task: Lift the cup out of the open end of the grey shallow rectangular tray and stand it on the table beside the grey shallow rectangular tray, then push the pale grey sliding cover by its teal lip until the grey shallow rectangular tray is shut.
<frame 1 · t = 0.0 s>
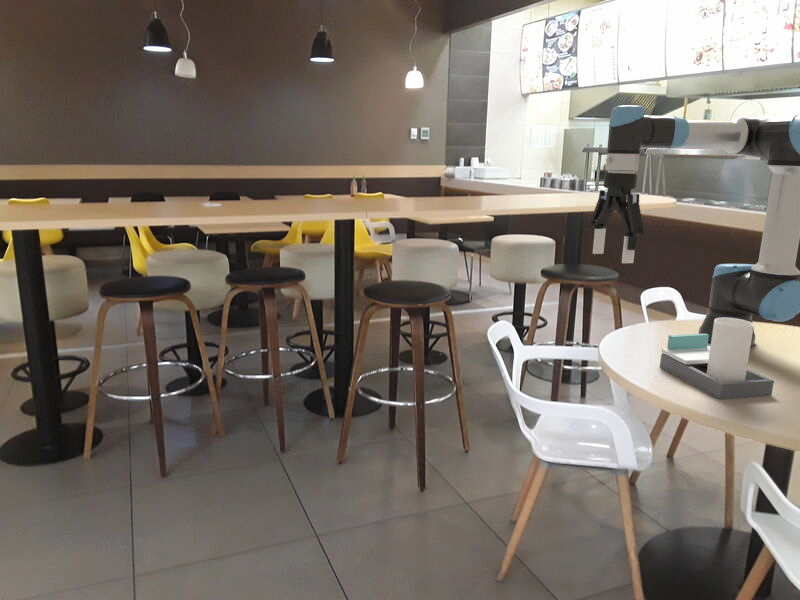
hand: (612, 258, 157), 28 cm above the table, fingers open, 13 cm apart
grey shallow rectangular tray: (712, 380, 153), on the table
cover: (698, 348, 158), point 6 cm above the table, slide at 0.0 cm
cup: (723, 386, 150), resting in grey shallow rectangular tray
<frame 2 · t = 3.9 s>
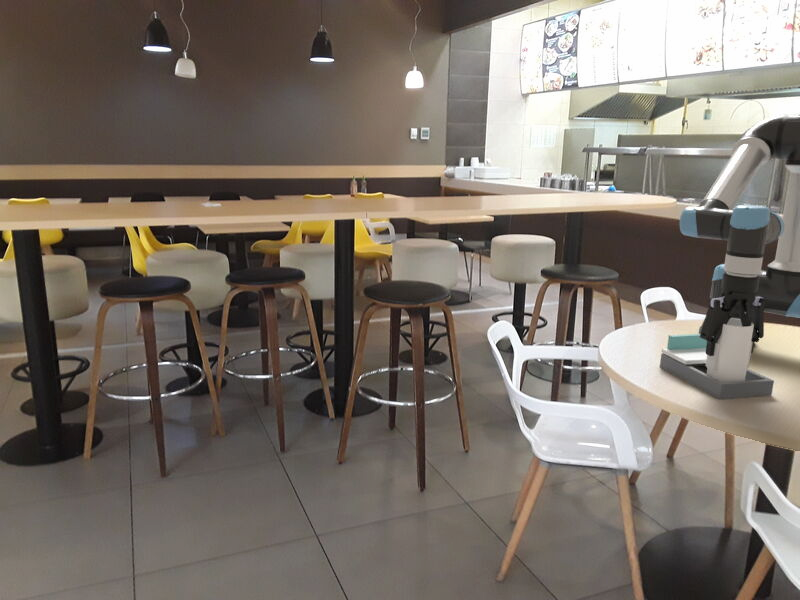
hand: (726, 367, 149), 5 cm above the table, fingers closed on cup, 8 cm apart
cup: (723, 386, 150), resting in grey shallow rectangular tray, touching gripper
everything else where it was.
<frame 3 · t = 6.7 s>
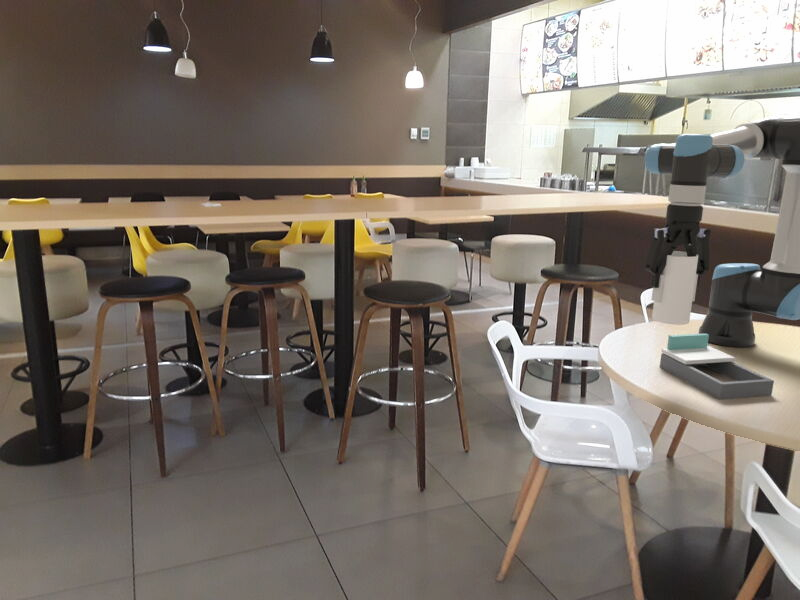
hand: (672, 300, 148), 20 cm above the table, fingers closed on cup, 8 cm apart
cup: (670, 320, 149), point 15 cm above the table, touching gripper
everything else where it was.
when the fingers open (7 cm above the table, at t = 9.4 s): cup drops 2 cm, on the table.
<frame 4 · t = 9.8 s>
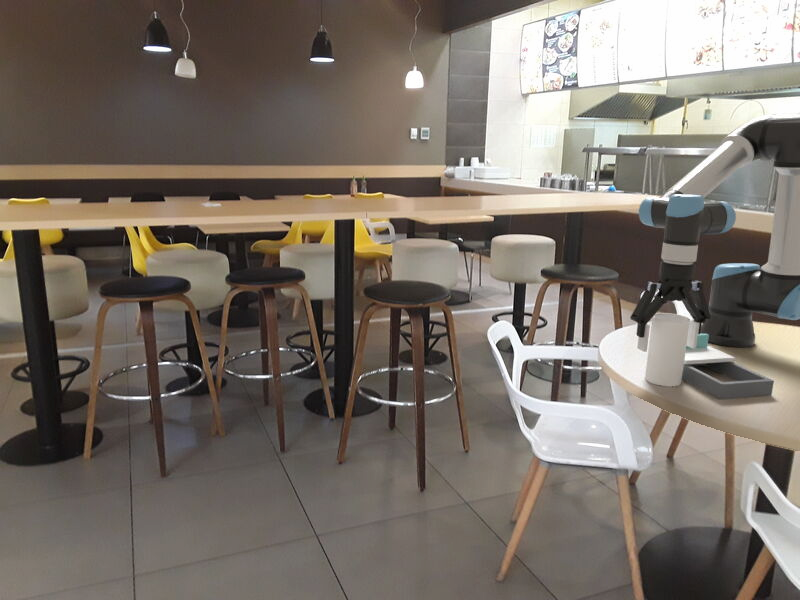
hand: (666, 348, 151), 8 cm above the table, fingers open, 13 cm apart
cup: (662, 381, 153), on the table
everything else where it was.
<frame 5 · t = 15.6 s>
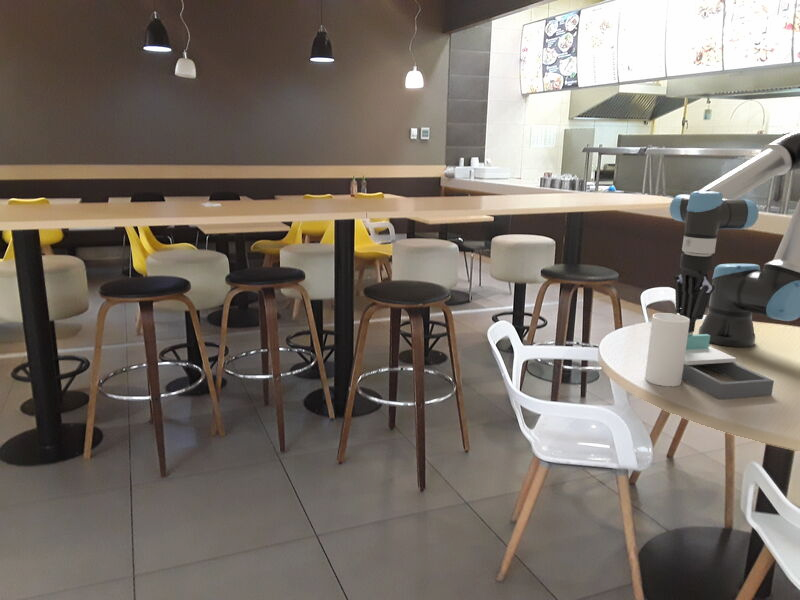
hand: (684, 342, 163), 6 cm above the table, fingers closed
cover: (699, 348, 157), point 6 cm above the table, slide at 0.5 cm, touching gripper
everything else where it was.
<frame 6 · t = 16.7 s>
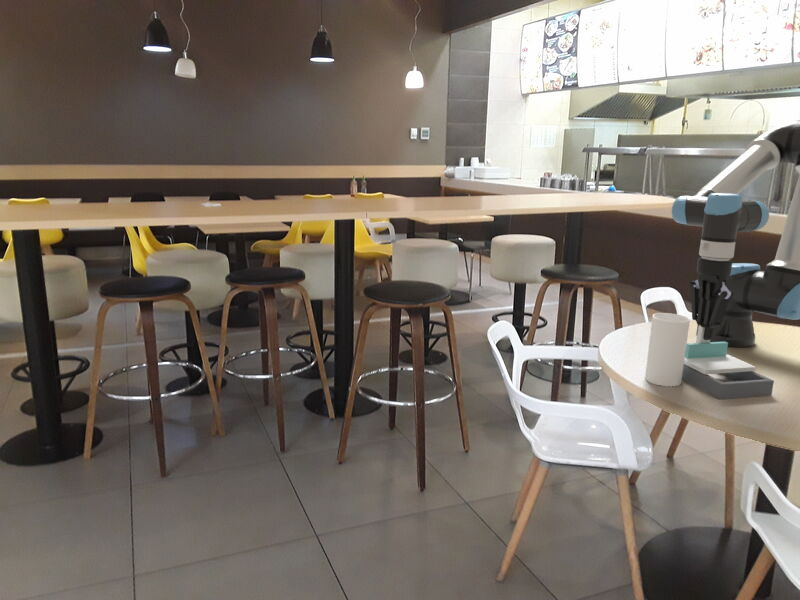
hand: (701, 350, 157), 6 cm above the table, fingers closed
cover: (717, 357, 151), point 6 cm above the table, slide at 6.9 cm, touching gripper
everything else where it was.
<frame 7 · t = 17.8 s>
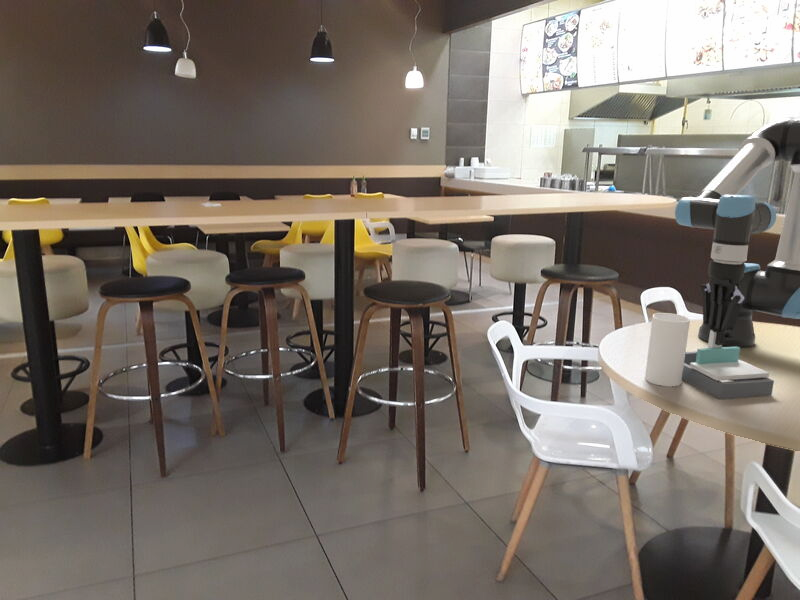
hand: (713, 356, 153), 6 cm above the table, fingers closed
cover: (729, 362, 148), point 6 cm above the table, slide at 11.0 cm, touching gripper
everything else where it was.
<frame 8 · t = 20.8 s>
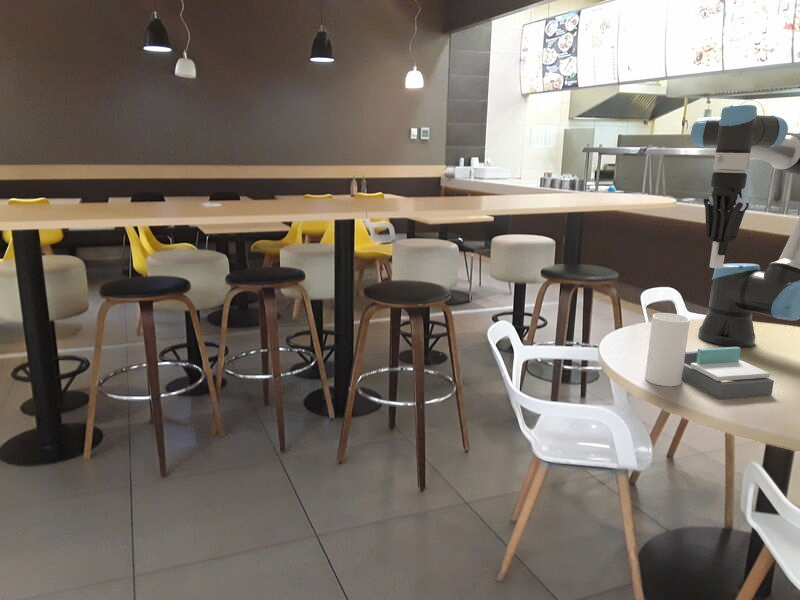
hand: (716, 267, 157), 26 cm above the table, fingers closed
cover: (730, 363, 147), point 6 cm above the table, slide at 11.2 cm
everything else where it was.
at the end: cover slide at 11.2 cm; cup inside the target area (0.1 cm from its centre), on the table; cup tilted 0° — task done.
